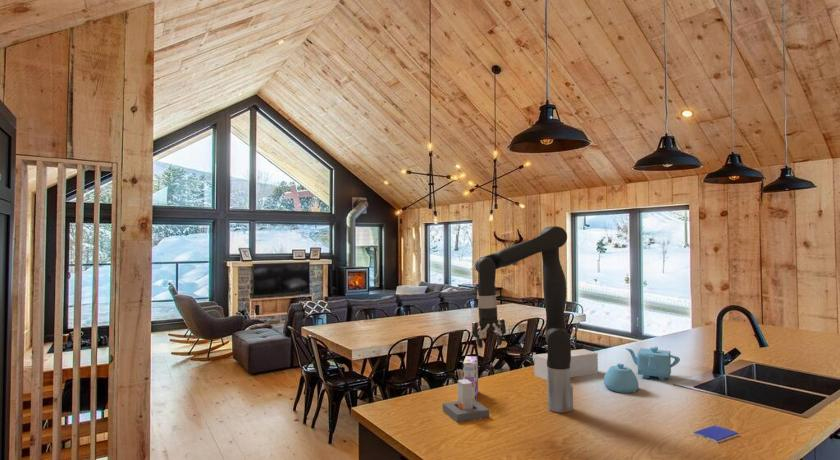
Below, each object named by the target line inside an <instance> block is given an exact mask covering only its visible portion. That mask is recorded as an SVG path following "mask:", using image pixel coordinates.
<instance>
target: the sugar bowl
mask: <svg viewBox="0 0 840 460" xmlns="http://www.w3.org/2000/svg"><path fill="white" fill-rule="evenodd" d="M603 385H604V386H605V387H606V389H608V390H609V391H611V392H615V393H620V394H630V393H635V392H636V391H637V390H638V389H639V379H638V378H637V376H636V374H635V372H634V371H633V369H632V368H631V367H629V366H625V364H624V363H620V362H619V363H616V365H611V366H610V367H609V368H608V369H607V371H606V373H605V374H604V377H603Z"/></svg>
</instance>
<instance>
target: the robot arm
mask: <svg viewBox="0 0 840 460" xmlns="http://www.w3.org/2000/svg"><path fill="white" fill-rule="evenodd" d="M567 240H568V234H567V231H566V230H565V229H564V228H563V227H561V226H558V225H557V226H556V225H554V226H547V227H544V228H542V230H541V231H540V233H539V235H538V236H536V237H534V238H531V239H528V240H526V241H523V242H519V243H516V244H512V245H509V246H508V247H505V248H503V249H500V250H498V251H497V252H494V253H491V254H488V255H483V256H481V257H479V259H477V260H476V262H475V264H474V268H475V270H476V273H477V272H478V275H479V276H478V279H479V280H478V281H479V282H478V283H477V297H478V298H477V306H478V319H479V321H478V322H476V321H472V322H471V323H472V324H471V328H472V329H471V331H472V332H471V334H472V337H473V338H476V345H477V347H478V348H479V349H482V348H483V347H484V346H483V345H484V344H483V336H484V335H485V334H486V333H489V332H494V333H495V334H496V336H495V337H496V345H497V346H502V344H503V337H502V336H503V335H505V334H506V333H507V328H506V321H505V319H503V318H499V319H498V304H497V303H498V301H497V297H496V283H495V282H496V276H497V272H496V271H497V270H498V269H500V268H505V267H508V266H511V265H513V264H515V263H518V262H520V261H523V260H524V259H527V258H530V257H532V256H534V255H536V254H540V253H541V258H542V279H543V280H542V287H543V288H542V289H543V299H544V307H545V308H544V309H545V315H546V319H545V335H544V336H545V342H546V344H547V345H546V346H547V353H548V357H547V380H546V381H547V382H546V385H547V386H546V387H547V388H546V389H547V409H548V410H549V411H551V412H555V413H560V414H561V413H569V412H571V411H573V410H574V390H573V389H574V386H573V385H572V382H571V377H570V362H571V350H572V341H571V337H570V335H569V333H568V331H567V330H566V329H567V328H566V323H565V310H566V309H565V308H566V302H567V279H566V276H565V273H564V270H563V267H562V264H561V261H560V248H562V247H563V246H564V245H565V244H566V242H567ZM498 325H499V327H498ZM479 327H480V328H479Z"/></svg>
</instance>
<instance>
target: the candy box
mask: <svg viewBox="0 0 840 460" xmlns="http://www.w3.org/2000/svg"><path fill="white" fill-rule="evenodd" d="M478 370H479V366H478V356H472V355H471V356H470V355H469V356H468V355H465V358H464V360H463V362H462V380H463V379H467V380H469V381H470V382H471V383H472V399H474V400H476V401H477V398H478V395H479V371H478Z"/></svg>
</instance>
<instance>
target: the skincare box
mask: <svg viewBox="0 0 840 460" xmlns="http://www.w3.org/2000/svg"><path fill="white" fill-rule="evenodd" d="M457 401H458V408H459V409H460V410H461V411H464V410H471V409H473V400H472V383H471V382H470V381H469V380H467V379H463V378H462V379H458V380H457Z"/></svg>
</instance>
